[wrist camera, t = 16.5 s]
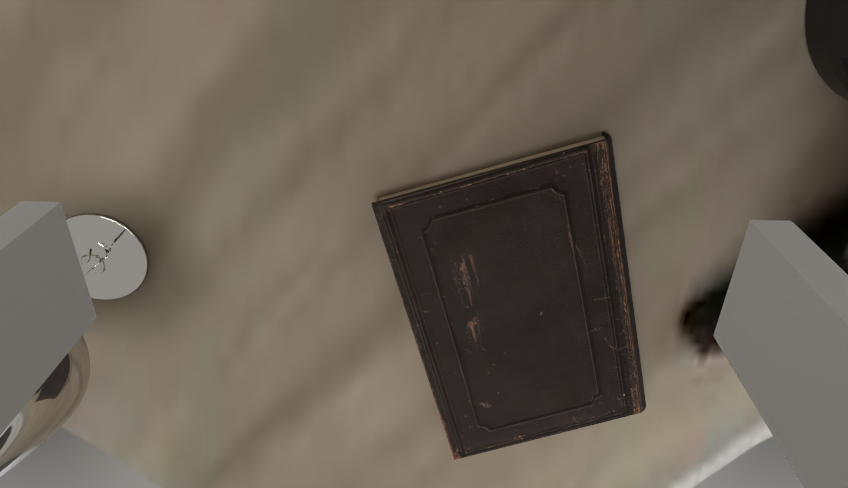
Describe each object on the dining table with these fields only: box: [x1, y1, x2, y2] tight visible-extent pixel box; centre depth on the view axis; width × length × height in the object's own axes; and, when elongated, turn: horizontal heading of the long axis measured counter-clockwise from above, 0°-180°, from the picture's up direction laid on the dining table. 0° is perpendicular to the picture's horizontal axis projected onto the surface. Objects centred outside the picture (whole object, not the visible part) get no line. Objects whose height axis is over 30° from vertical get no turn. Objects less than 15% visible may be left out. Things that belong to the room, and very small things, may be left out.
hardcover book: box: [372, 132, 646, 460], centre depth 45 cm, size 16×23×2 cm
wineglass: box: [0, 214, 148, 477], centre depth 33 cm, size 8×8×18 cm
